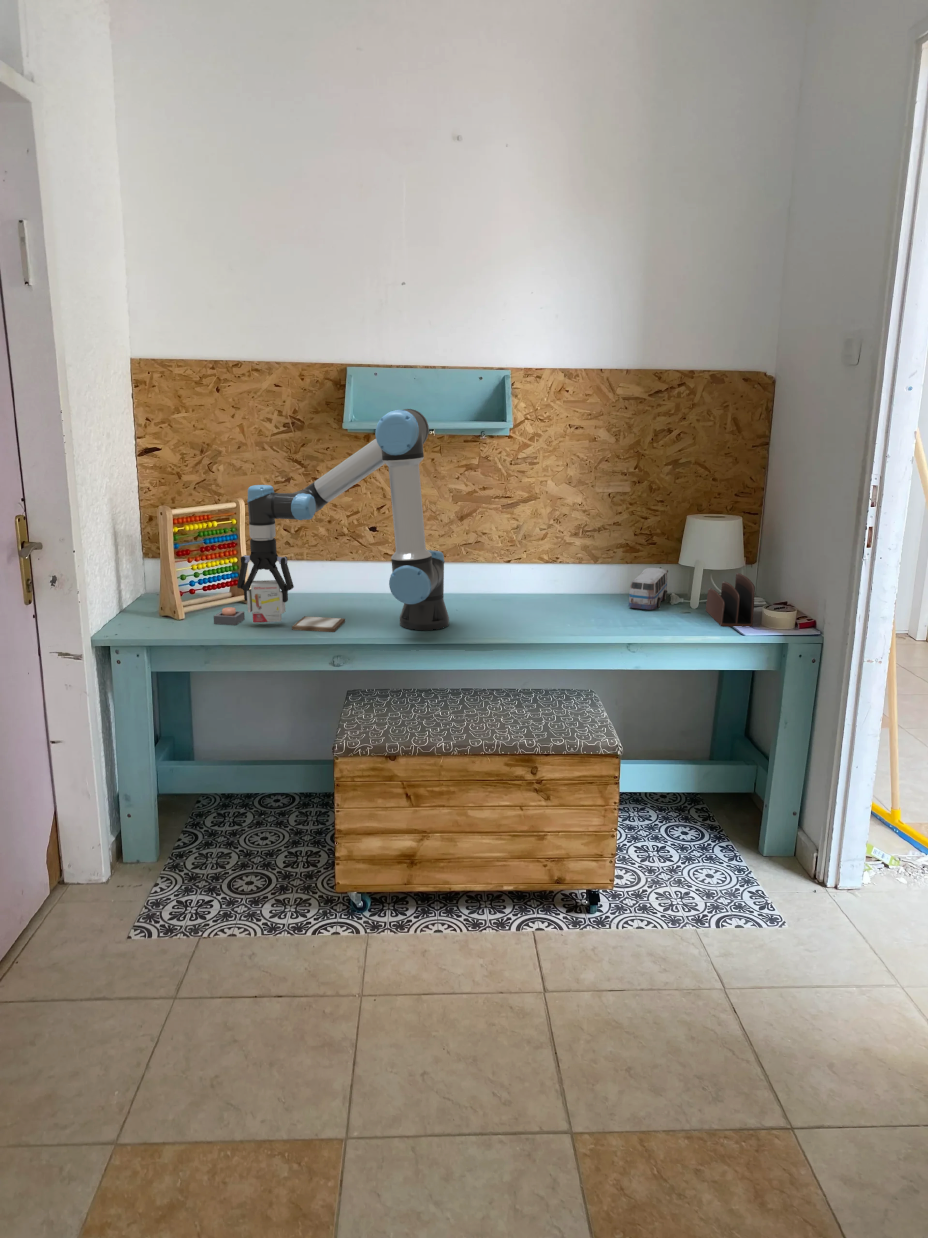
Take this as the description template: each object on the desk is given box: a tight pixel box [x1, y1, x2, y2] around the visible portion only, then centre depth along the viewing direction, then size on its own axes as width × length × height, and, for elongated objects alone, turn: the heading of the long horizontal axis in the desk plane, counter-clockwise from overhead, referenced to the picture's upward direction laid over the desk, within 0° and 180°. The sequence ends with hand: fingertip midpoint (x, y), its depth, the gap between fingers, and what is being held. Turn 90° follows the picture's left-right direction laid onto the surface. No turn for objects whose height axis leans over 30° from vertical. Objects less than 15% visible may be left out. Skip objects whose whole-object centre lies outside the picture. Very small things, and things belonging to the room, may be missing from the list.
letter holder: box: [705, 572, 756, 628], centre depth 291 cm, size 10×20×14 cm, turn 179°
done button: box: [221, 606, 237, 616], centre depth 278 cm, size 4×4×2 cm
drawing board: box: [291, 615, 346, 633], centre depth 276 cm, size 13×12×1 cm
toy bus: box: [628, 567, 669, 610], centre depth 311 cm, size 10×27×10 cm, turn 158°
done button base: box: [213, 610, 246, 626], centre depth 279 cm, size 7×7×2 cm
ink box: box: [250, 579, 283, 624], centre depth 274 cm, size 9×5×12 cm, turn 100°
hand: (266, 611), depth 274 cm, fingers closed on ink box, 9 cm apart
